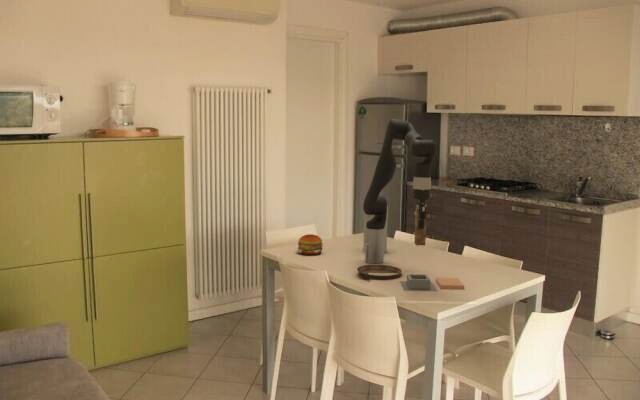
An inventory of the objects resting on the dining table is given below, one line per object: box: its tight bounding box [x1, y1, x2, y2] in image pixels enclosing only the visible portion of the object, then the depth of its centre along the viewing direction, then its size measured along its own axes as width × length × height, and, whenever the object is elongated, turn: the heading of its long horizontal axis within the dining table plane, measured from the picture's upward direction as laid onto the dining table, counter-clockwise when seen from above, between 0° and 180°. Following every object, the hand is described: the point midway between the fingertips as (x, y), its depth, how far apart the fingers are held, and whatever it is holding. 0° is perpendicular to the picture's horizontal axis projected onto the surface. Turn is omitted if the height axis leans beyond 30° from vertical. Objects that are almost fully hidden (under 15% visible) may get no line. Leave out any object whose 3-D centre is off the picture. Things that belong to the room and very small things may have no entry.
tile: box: [434, 277, 465, 290], centre depth 261 cm, size 10×3×12 cm
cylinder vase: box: [363, 205, 389, 254], centre depth 324 cm, size 12×12×25 cm
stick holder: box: [399, 273, 438, 292], centre depth 258 cm, size 14×14×5 cm
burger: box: [297, 234, 324, 256], centre depth 320 cm, size 14×14×10 cm
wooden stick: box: [414, 206, 428, 246], centre depth 255 cm, size 4×4×16 cm
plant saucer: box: [356, 264, 403, 280], centre depth 278 cm, size 21×21×3 cm
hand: (420, 227), depth 255 cm, fingers closed on wooden stick, 4 cm apart
